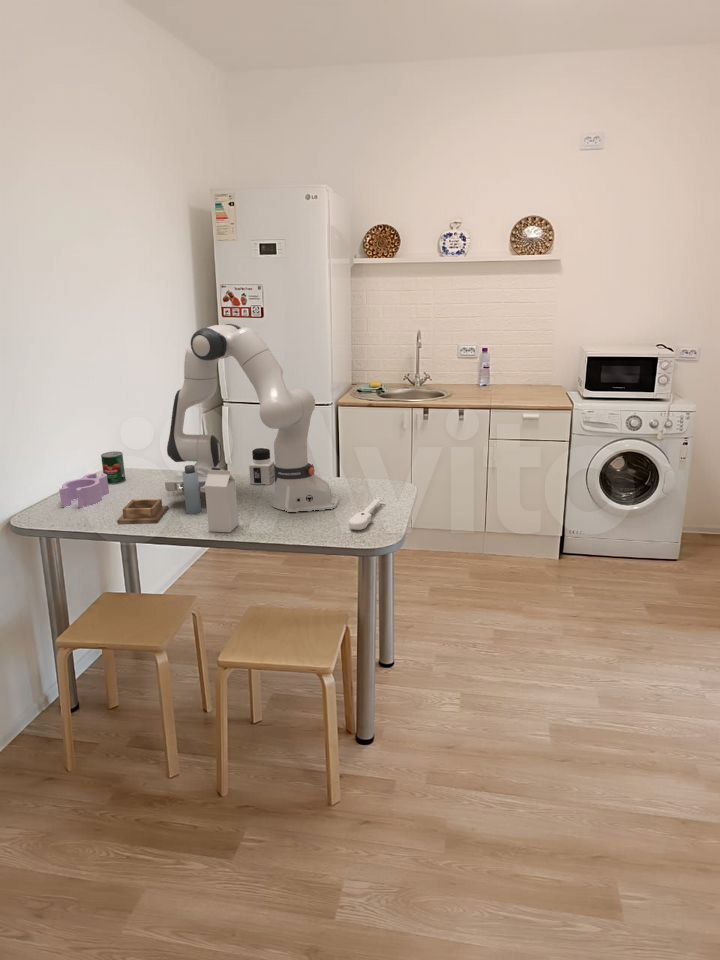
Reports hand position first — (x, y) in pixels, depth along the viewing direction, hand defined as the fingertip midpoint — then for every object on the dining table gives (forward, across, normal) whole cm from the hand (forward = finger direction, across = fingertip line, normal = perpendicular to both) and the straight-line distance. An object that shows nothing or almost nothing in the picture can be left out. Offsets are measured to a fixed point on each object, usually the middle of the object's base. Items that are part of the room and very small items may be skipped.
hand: (191, 490), depth 236 cm
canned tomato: (-39, -39, +8) cm, 56 cm away
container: (-34, +19, +8) cm, 40 cm away
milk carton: (+15, +13, +8) cm, 22 cm away
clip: (-18, -42, +8) cm, 46 cm away
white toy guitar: (+8, +58, +8) cm, 60 cm away
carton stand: (+2, -16, +8) cm, 18 cm away
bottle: (-1, 0, +8) cm, 8 cm away
